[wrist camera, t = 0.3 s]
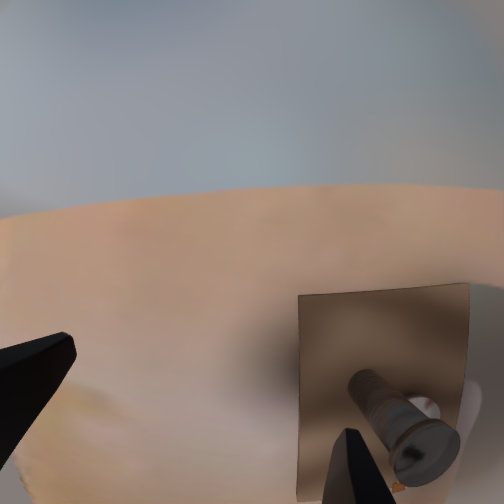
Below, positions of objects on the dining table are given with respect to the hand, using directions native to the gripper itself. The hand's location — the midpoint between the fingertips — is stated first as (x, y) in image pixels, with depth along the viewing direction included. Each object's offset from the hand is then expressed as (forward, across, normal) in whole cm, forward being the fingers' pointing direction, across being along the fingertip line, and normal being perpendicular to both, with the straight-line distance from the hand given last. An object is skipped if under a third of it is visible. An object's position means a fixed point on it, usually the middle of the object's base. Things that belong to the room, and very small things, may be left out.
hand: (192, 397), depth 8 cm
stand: (+12, -12, +10) cm, 19 cm away
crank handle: (+10, -13, +9) cm, 19 cm away
